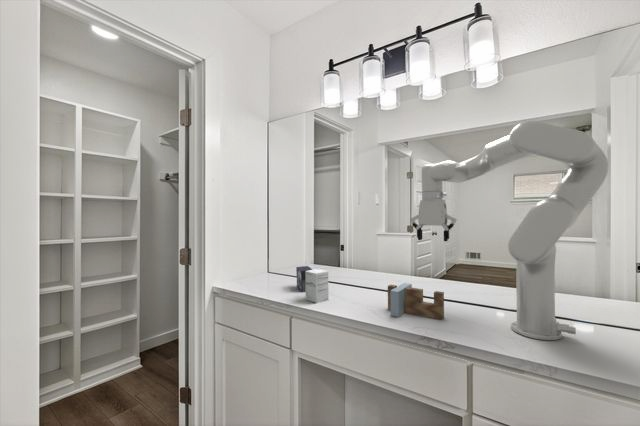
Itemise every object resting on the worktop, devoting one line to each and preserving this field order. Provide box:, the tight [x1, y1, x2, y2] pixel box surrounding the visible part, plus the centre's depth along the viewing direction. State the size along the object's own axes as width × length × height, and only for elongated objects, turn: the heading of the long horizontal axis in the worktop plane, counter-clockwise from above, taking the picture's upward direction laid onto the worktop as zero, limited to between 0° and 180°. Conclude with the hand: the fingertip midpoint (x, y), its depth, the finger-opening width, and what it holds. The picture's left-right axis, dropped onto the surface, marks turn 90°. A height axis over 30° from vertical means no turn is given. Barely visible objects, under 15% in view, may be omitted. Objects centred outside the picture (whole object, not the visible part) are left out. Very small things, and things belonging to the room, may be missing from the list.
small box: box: [295, 265, 314, 293], centre depth 145 cm, size 11×6×10 cm, turn 18°
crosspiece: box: [390, 282, 413, 318], centre depth 111 cm, size 3×14×9 cm, turn 144°
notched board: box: [387, 284, 445, 321], centre depth 109 cm, size 20×2×9 cm, turn 53°
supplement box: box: [305, 268, 329, 304], centre depth 127 cm, size 7×7×13 cm
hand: (432, 240), depth 114 cm, fingers open, 9 cm apart
